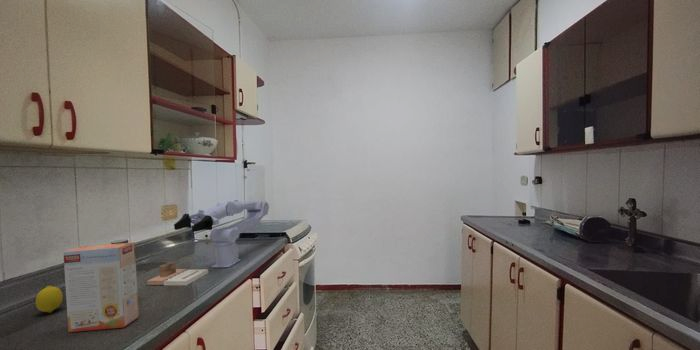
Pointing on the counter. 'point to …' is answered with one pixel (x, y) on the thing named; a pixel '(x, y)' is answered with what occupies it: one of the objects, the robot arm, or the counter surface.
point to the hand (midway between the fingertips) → (183, 228)
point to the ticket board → (186, 277)
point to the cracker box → (101, 286)
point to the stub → (165, 273)
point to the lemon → (49, 299)
